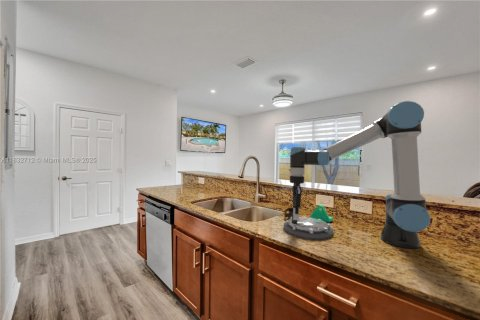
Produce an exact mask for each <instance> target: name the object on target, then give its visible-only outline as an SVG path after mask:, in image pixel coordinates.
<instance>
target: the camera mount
mask: <svg viewBox="0 0 480 320" xmlns="http://www.w3.org/2000/svg"><path fill="white" fill-rule="evenodd" d="M309 216H310V217H309V218H315V219H321V220H322V221H324V222H326V223H330V222H331V221H333V216H329V215H328V213H327V211H326V208H325V206H324V205H323V204H319V205H318V206H316V208H315V209H314V211H313V212H312V213H311V214H310V215H309Z"/></svg>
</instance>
